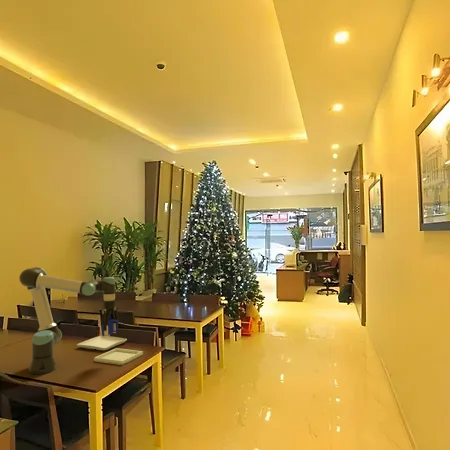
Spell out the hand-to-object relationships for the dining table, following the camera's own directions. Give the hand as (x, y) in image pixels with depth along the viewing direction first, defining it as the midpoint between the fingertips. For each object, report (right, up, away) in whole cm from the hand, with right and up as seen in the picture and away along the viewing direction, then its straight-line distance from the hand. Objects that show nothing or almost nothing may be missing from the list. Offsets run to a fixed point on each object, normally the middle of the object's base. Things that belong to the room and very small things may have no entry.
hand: (109, 334), depth 251 cm
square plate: (-17, -20, +36) cm, 44 cm away
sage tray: (+5, -18, +4) cm, 19 cm away
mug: (0, 0, 0) cm, 1 cm away
